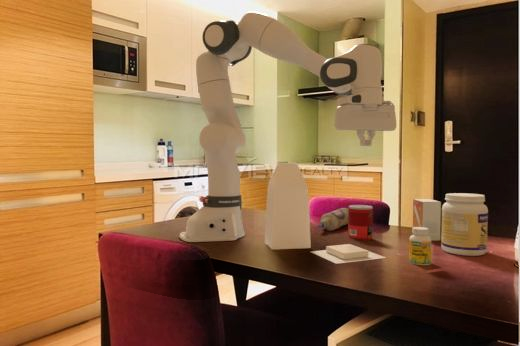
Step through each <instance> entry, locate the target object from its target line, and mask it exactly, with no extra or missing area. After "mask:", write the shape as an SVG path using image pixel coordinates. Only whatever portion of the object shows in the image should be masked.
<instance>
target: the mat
mask: <svg viewBox="0 0 520 346" xmlns="http://www.w3.org/2000/svg"><path fill="white" fill-rule="evenodd" d="M311 253H312V254H313V255H316V256H318V257H320V258H322V259H325V260H327V261H329V262H331V263H334V264H336V265H337V264H346V263H356V262H363V261H372V260H373V261H374V260H378V259H379V260H380V259H387V257H386V256H382V255H380V254H378V253H376V252H372V251H369V256H368V257H359V258H351V259H342V258H339V257H337V256H335V255H332V254H330V253H328V252H326V249H323V250H322V249H321V250H320V249H319V250H314V251H313V250H312V251H310V254H311Z"/></svg>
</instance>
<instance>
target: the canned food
mask: <svg viewBox="0 0 520 346" xmlns="http://www.w3.org/2000/svg"><path fill="white" fill-rule="evenodd" d="M347 209H348V224H347V229H348V231H347V234H348V238H350V239H354V240H355V239H356V240H358V241H362V242H364V241H365V242H366V241H367V242H368V241H371V240H373V239H372V238H373V221H374V219H373V218H374V216H373V215H374V210H373V209H374V208H373V206H372V205H366V204H351V205H348V207H347Z"/></svg>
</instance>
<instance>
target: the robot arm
mask: <svg viewBox="0 0 520 346" xmlns="http://www.w3.org/2000/svg"><path fill="white" fill-rule="evenodd" d="M201 37H202V43H203V45H204V47H205V48H206V50H208V51H205V52H203V53H201V54H200V55H198V57H197V58H196V63H195V66H196V67H195V71H196V72H195V74H196V84H197V88H198V93H199V95H198V96H199V99H200V100H199V101H200V106H201V109H202V111H203V113H204V116H206V119H207V121H208V123H209V124H207V125H206V126H204V127H203V128H202V130H201V131H200V134H199V139H198V140H199V144H200V146H201V148H202V151H203V153H204V158H205V162H206V168H207V181H208V182H207V183H208V184H207V185H208V187H207V190H208V191H207V194H208V195H206V196H203V195H201V196H199V201H200V202H201V203H202V207H201V208H199V209H198V210H197V211H196V212H195V213H193V214H192V215H191V216H189V217H188V219H187V221H186V227H185V231H181V232H180V233H179V238H180V240H182V241H184V242H188V243H201V242H202V243H204V242H226V241H228V242H229V241H236V240H237V239H240V238H243V237H245V235H246V234H245V231H244V226H243V219H242V207H243V201H242V195H241V171H240V169H239V166H238V162H237V161H238V160H237V155H236V154H238V153H239V152H241V151H242V150H243V149H244V147H245V145H246V140H247V138H246V134H245V133H244V130H243V127H242V123H241V121H240V118H239V116H238V112H237V110H236V106H235V103H234V98H233V92H232V87H231V83H230V78H229V77H230V76H229V71H228V69H229V66H230V67H233V66H235V65H237V64H238V63H240V62H242V61H244V60H246V59H247V58H248V57H249V56H250V54H251V53H252V50H253V49H252V48H254V49H255V50H258V51H259V52H261V53H263V54H265V56H269V57H272V58H273V59H275V60H279V61H283V62H286V63H289V64H293V65H296V66H298V67H301V68H302V69H305V70H307V71H308V72H310V73H312V74H313V75H314V76H315V75H316V76H317V77H319V78H320V80H321V82H322V84H324V86H326V87H327V88H329V89H330V90H331V91H332V92H334V94H336V95H339V96H342V97H338V98H337V99H336V105H337V107H336V109H335V113H334V114H335V115H334V127H335V129H336V130H337V131H356V135H357V137H358V139H359V141H360V143H359V144H360V146H361V147H371V146H372V144H373V140H374V137H375V136H376V131H377V132H393V131H395V130H396V129H397V116H396V115H397V114H396V107H395V104H394V103H393V102H392V101H391V100H383V96H382V95H383V86H382V82H381V81H382V76H383V58H382V57H383V56H382V53H381V49H379V47H378V46H376V45H373V44H371V43H359V44H356V45H354V46H353V47H352V48H350V50H348V51H346V52H344V53H342V54H340V55H337V56H334V57H331V58H326V57H325V56H323V55H322V54H319V53H318V52H316V51H315V50H313V49H311V48H310V47H309V46H308V45H307V44H306V43H305V41H303V40H302V39H301V38H300V37H299V36H298V35H297V34H296V32H294V30H292V29H291V28H290V27H289V26H287V25H286V24H285V23H283V22H282V21H280V20H277V19H276V18H274V17H272V16H269V15H268V14H265V13H261V12H258V11H252V10H251V11H248V12H246V13H245V14H244V15H243V16H242V17H241V18H240V21H238V22H237V23H236V21H235V20H232V19H229V20H228V19H227V20H215V21H212V22H209V23H208V24H207V25H206V26H205V28H204V30H203V32H202V36H201ZM365 134H367V135H368V136H366V137H367V138H366V137H365Z"/></svg>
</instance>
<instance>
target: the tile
mask: <svg viewBox="0 0 520 346" xmlns="http://www.w3.org/2000/svg"><path fill="white" fill-rule="evenodd" d="M325 250H326V252H328V253H330V254H332V255H335V256H337V257H339V258H342V259H351V258H359V257H368V256H369V252H370V250H367V249H365V248H362V247H359V246H357V245H354V244H351V243H347V244H337V245H326V246H325Z"/></svg>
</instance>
